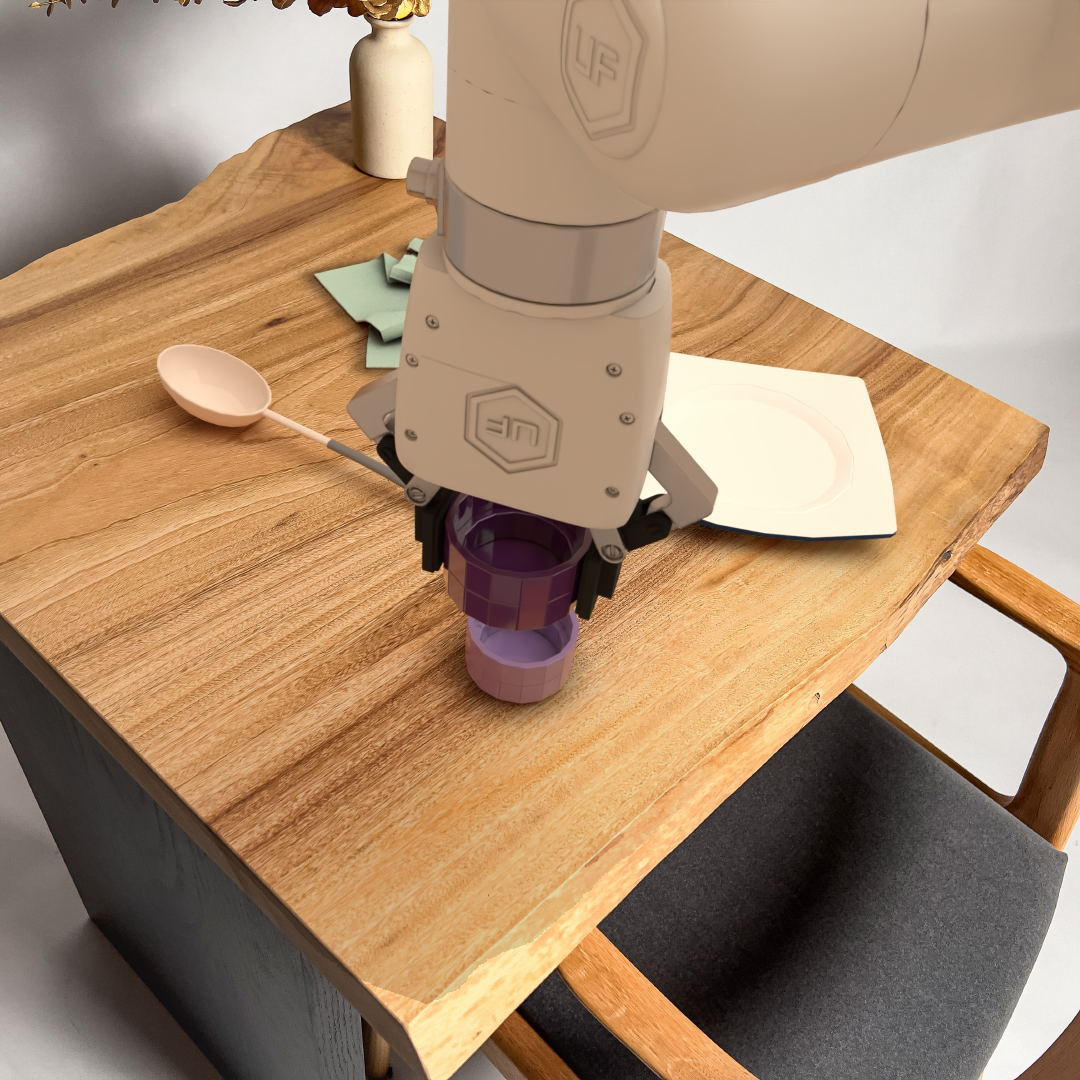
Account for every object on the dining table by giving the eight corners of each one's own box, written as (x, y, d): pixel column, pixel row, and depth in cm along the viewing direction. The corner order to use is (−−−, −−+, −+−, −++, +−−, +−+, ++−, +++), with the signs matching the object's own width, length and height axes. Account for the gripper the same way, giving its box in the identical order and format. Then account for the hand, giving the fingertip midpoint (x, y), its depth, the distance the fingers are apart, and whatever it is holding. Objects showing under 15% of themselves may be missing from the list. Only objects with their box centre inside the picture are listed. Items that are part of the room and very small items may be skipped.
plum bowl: (610, 600, 47) (623, 541, 44) (495, 660, 44) (501, 600, 41) (529, 516, 50) (536, 457, 48) (417, 566, 47) (417, 505, 45)
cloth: (554, 383, 83) (558, 359, 81) (288, 362, 81) (285, 337, 79) (552, 256, 97) (555, 233, 95) (325, 236, 95) (324, 212, 94)
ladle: (193, 362, 79) (193, 313, 75) (491, 546, 74) (506, 504, 71) (135, 399, 75) (133, 349, 71) (448, 596, 70) (461, 554, 67)
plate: (626, 365, 85) (631, 339, 83) (862, 398, 85) (872, 372, 83) (616, 532, 71) (622, 505, 69) (899, 571, 71) (913, 545, 69)
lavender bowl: (591, 678, 62) (600, 638, 59) (503, 725, 59) (508, 685, 56) (531, 608, 65) (536, 567, 62) (445, 649, 62) (447, 608, 59)
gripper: (269, 213, 33) (309, 577, 45) (788, 343, 30) (677, 691, 43) (366, 128, 38) (377, 476, 51) (816, 233, 35) (709, 572, 48)
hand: (515, 572), depth 47 cm, fingers closed on plum bowl, 6 cm apart
